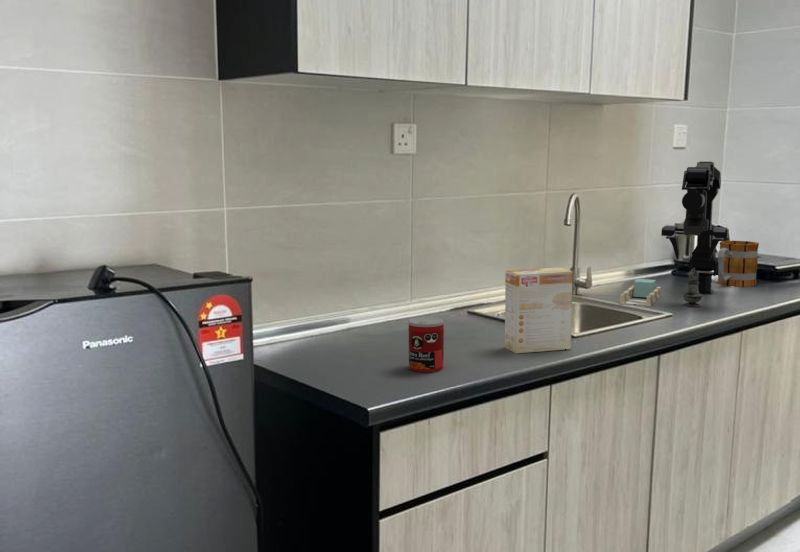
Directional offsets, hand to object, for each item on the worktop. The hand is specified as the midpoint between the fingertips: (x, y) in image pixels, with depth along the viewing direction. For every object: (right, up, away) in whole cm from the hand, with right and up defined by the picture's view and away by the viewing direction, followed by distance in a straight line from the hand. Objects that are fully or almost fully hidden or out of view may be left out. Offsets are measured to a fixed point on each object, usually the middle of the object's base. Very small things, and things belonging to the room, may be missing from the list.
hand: (693, 260), depth 240 cm
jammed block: (-9, -11, +19) cm, 24 cm away
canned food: (-84, -26, -63) cm, 108 cm away
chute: (-12, -13, +14) cm, 22 cm away
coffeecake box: (-56, -23, -47) cm, 76 cm away
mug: (+29, -8, +41) cm, 51 cm away
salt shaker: (+1, -14, +5) cm, 15 cm away
